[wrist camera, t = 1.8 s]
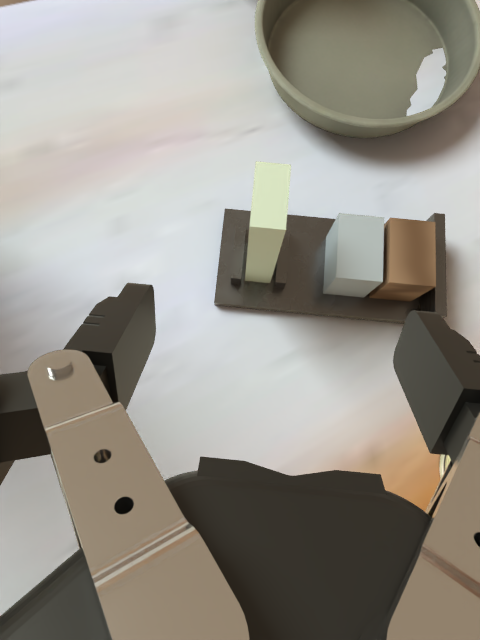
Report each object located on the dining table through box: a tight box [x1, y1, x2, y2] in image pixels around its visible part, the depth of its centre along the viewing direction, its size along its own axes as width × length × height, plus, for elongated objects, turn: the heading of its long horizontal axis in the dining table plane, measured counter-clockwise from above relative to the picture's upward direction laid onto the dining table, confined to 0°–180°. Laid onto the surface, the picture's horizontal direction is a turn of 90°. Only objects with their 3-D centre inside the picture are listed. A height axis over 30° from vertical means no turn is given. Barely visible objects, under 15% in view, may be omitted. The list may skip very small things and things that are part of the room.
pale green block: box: [245, 162, 291, 283], centre depth 33 cm, size 2×5×12 cm, turn 174°
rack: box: [214, 209, 447, 323], centre depth 38 cm, size 21×10×4 cm, turn 84°
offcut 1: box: [323, 213, 384, 297], centre depth 36 cm, size 4×6×5 cm, turn 174°
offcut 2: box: [369, 218, 436, 302], centre depth 36 cm, size 4×6×5 cm, turn 174°
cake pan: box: [255, 0, 480, 138], centre depth 43 cm, size 25×25×4 cm
